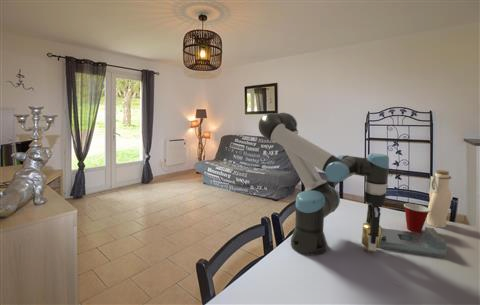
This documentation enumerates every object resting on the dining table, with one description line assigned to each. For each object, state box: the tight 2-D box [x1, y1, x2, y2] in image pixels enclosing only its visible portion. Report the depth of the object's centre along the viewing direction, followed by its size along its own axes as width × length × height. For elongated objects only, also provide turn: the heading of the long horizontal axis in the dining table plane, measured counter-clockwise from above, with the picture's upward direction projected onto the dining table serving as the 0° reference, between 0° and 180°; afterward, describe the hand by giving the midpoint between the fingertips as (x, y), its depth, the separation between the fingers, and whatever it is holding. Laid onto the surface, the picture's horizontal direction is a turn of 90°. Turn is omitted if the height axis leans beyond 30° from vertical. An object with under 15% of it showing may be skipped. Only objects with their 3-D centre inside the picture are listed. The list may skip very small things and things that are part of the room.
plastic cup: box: [403, 203, 430, 233], centre depth 124 cm, size 11×11×12 cm
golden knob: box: [361, 222, 383, 253], centre depth 105 cm, size 7×7×10 cm
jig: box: [378, 226, 447, 258], centre depth 111 cm, size 24×14×6 cm, turn 71°
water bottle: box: [426, 169, 452, 228], centre depth 128 cm, size 10×9×28 cm
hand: (370, 245), depth 106 cm, fingers closed on golden knob, 7 cm apart
